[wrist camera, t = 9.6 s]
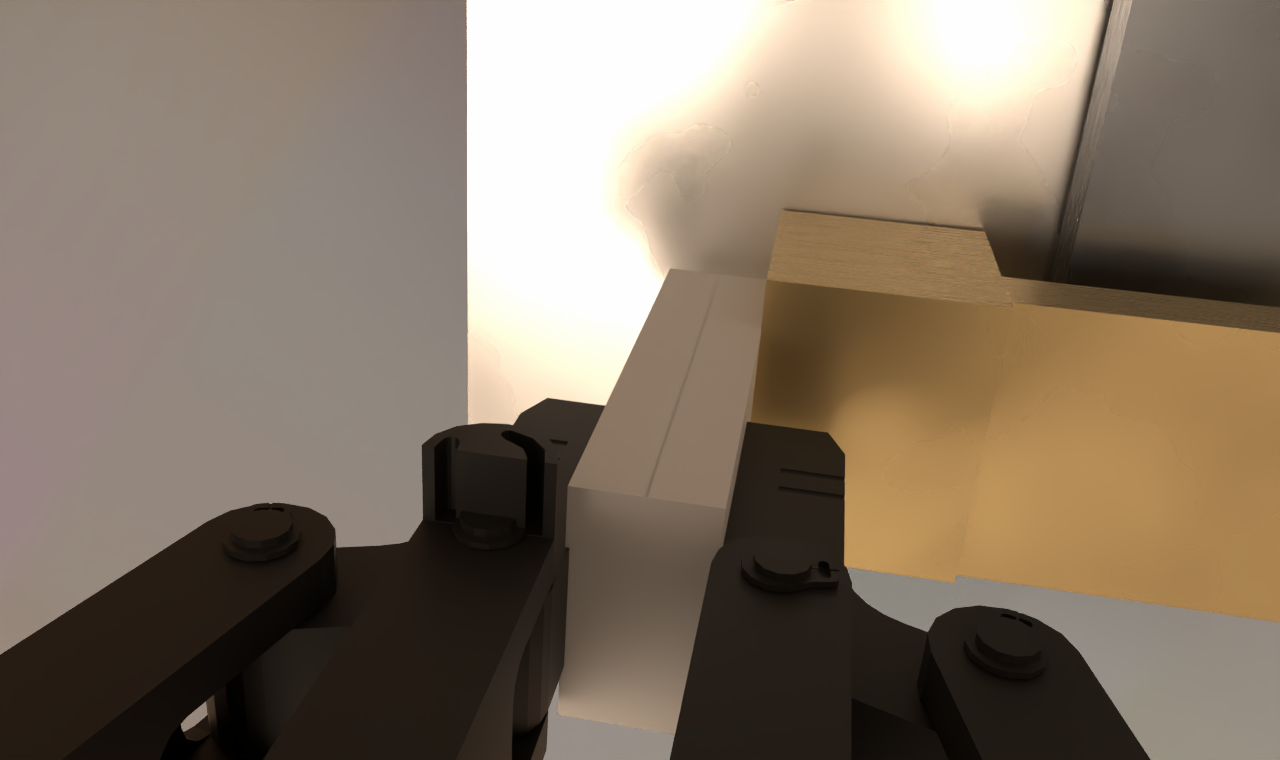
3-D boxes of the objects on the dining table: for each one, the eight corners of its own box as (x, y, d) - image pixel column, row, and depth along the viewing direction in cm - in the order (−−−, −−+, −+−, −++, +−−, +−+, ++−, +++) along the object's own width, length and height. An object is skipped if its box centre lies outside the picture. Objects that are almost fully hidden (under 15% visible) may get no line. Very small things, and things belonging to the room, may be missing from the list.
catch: (781, 210, 17) (766, 279, 14) (1345, 270, 16) (1458, 359, 13) (753, 443, 19) (735, 550, 16) (1262, 512, 18) (1346, 640, 15)
